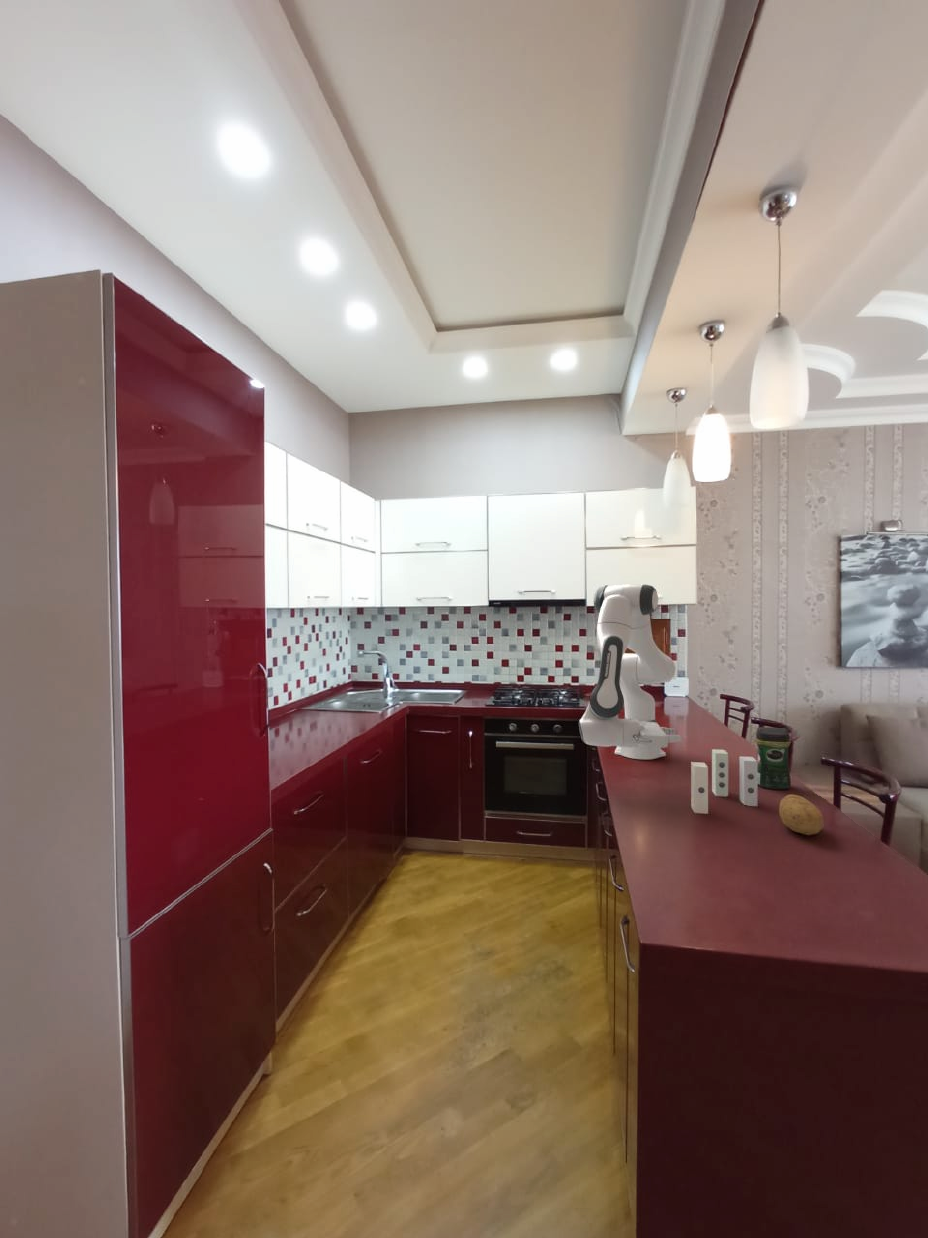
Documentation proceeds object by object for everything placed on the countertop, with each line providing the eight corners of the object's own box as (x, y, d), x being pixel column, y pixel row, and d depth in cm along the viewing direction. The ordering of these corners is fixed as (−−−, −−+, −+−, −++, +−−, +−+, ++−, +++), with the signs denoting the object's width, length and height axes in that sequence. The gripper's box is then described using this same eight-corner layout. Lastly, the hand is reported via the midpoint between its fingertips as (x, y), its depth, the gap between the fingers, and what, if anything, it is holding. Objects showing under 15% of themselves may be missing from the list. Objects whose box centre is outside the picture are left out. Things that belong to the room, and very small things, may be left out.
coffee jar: (787, 783, 175) (787, 726, 174) (793, 791, 167) (793, 731, 167) (753, 780, 178) (753, 724, 178) (757, 788, 171) (757, 729, 170)
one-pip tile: (691, 807, 156) (691, 762, 156) (704, 807, 156) (704, 762, 155) (694, 813, 152) (694, 766, 151) (708, 814, 151) (708, 767, 151)
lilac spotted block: (739, 800, 161) (739, 756, 161) (752, 800, 160) (752, 756, 160) (744, 805, 156) (744, 761, 156) (757, 806, 156) (757, 761, 155)
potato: (789, 842, 133) (789, 809, 133) (771, 819, 146) (771, 790, 146) (834, 845, 130) (834, 812, 130) (812, 822, 144) (812, 792, 144)
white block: (712, 790, 169) (712, 749, 169) (724, 791, 168) (724, 749, 168) (715, 796, 164) (715, 753, 164) (728, 796, 164) (728, 754, 163)
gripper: (635, 730, 161) (685, 732, 158) (628, 717, 181) (672, 718, 178) (635, 751, 161) (685, 754, 158) (628, 736, 181) (672, 738, 178)
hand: (678, 735), depth 168 cm, fingers open, 8 cm apart
